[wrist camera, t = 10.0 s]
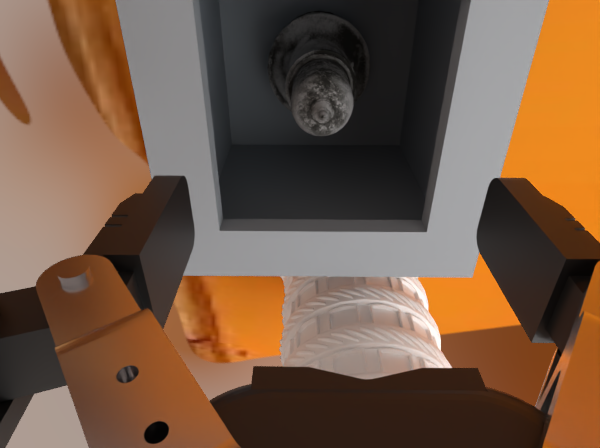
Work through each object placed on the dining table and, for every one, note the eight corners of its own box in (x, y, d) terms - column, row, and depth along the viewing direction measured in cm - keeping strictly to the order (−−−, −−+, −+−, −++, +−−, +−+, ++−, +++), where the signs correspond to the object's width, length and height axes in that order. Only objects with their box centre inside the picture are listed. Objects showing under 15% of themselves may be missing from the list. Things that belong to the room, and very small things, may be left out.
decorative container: (401, 173, 33) (485, 368, 18) (424, 286, 39) (501, 504, 24) (257, 211, 35) (221, 417, 20) (300, 313, 41) (297, 531, 25)
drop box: (196, -76, 25) (95, -98, 13) (444, -76, 24) (576, -98, 13) (220, 154, 32) (171, 275, 20) (410, 155, 32) (472, 277, 20)
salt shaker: (262, 87, 29) (237, 163, 19) (285, -9, 26) (271, 20, 16) (345, 112, 30) (365, 197, 20) (377, 22, 27) (420, 68, 17)
